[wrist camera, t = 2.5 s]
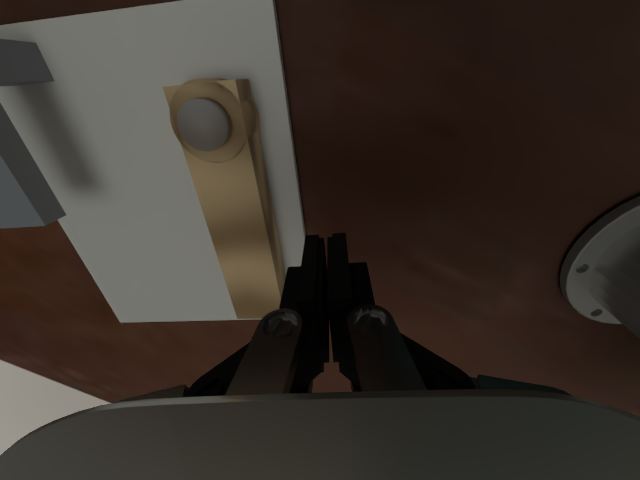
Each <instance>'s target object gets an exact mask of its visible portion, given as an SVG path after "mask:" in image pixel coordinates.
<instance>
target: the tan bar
mask: <svg viewBox="0 0 640 480" xmlns="http://www.w3.org/2000/svg"><path fill="white" fill-rule="evenodd" d="M163 90H164V93H165V97H166V100H167V103H168V106H169V109H170V122H171V125H172V129H173V131H174V133H175V135H176V137H177V139H178V140H179V142H180V143H181V146H182V149H183V152H184V155H185V158H186V161H187V165H188V168H189V171H190V174H191V177H192V180H193V183H194V186H195V189H196V192H197V196H198V199H199V202H200V205H201V208H202V211H203V214H204V217H205V220H206V223H207V226H208V230H209V233H210V236H211V239H212V242H213V245H214V248H215V251H216V254H217V257H218V261H219V264H220V267H221V270H222V273H223V276H224V279H225V282H226V285H227V288H228V291H229V295H230V298H231V301H232V304H233V307H234V310H235V313H236V316H237V319H262V318H263V317H264V316H265V315H266V314H268V313H270V312H271V311H274V310H277V309H279V306H280V302H281V297H282V292H283V287H284V283H285V278H286V276H285V271H284V266H283V260H282V255H281V250H280V244H279V239H278V234H277V228H276V223H275V218H274V212H273V207H272V202H271V196H270V191H269V186H268V181H267V175H266V170H265V165H264V159H263V154H262V149H261V143H260V138H259V133H258V129H259V116H258V111H257V108H256V106H255V103H254V101H253V100H252V95H251V90H250V85H249V79H231V80H227V79H221V78H202V79H193V80H190V81H187V82H185V83H184V84H182V85H175V86H166V87H163Z"/></svg>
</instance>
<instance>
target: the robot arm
mask: <svg viewBox="0 0 640 480" xmlns="http://www.w3.org/2000/svg"><path fill="white" fill-rule="evenodd" d="M560 288H561V291H562V294H563V296H564V298H565V299H566V300H567V301H568V303H569V304H570V305H571V306H572V307H573V308H574V309H576V310H577V311H578V312H579V313H580V314H581V315H583V316H585V317H587V318H589V319H592V320H595V321H599V322H602V323H611V324H623V325H624V326H625V327H626V328H627V329H629V330H630V331H631V332H632V333H633V334H634V335H635V336H637V337H638V338H639V339H640V196H638V197H636V198H634V199H632V200H630V201H628V202H626V203H624V204H622V205H620V206H619V207H617V208H615V209H614V210H612V211H611V212H609V213H607V214H606V215H604V216H603V217H602V218H601V219H599V220H598V221H597V222H596V223H594V224H593V225H592V226H591V227H589V228H588V229H587V230H586V232H585V233H584V234H583V235H582V236H581V237H580V238H579V239H578V240H577V241H576V243H575V244H574V245H573V247H572V248H571V250H570V251H569V252H568V254H567V256H566V258H565V261H564V263H563V265H562V269H561V273H560ZM329 321H330V331H331V340H332V350H333V360H334V362H339V369H340V372H341V373H342V374H343V375H344V376H345V377H347V378H348V379H349V380H350V381H351V389H352V392H329V393H312V389H313V379H314V378H315V377H316V376H318V375H319V374H320V373H321V372H324V363H327V362H329ZM0 480H640V417H637V416H635V415H633V414H630V413H628V412H625V411H623V410H620V409H617V408H615V407H612V406H608V405H605V404H602V403H598V402H595V401H591V400H588V399H585V398H580V397H575V396H572V395H570V394H568V393H567V392H565V391H563V390H560V389H557V388H553V387H548V386H543V385H537V384H531V383H525V382H519V381H513V380H507V379H501V378H496V377H490V376H484V375H478V377H477V378H473V377H469V376H468V375H467V374H466V373H465V372H463V371H462V370H461V369H459V368H458V367H456V366H454V365H453V364H451V363H449V362H448V361H446V360H444V359H443V358H441V357H439V356H438V355H436V354H434V353H433V352H431V351H429V350H428V349H426V348H425V347H423V346H421V345H420V344H418V343H416V342H415V341H413V340H411V339H410V338H408V337H406V336H405V335H403V334H401V333H400V332H399V330H398V328H397V326H396V323H395V321H394V319H393V317H392V316H391V314H390V313H389V312H388V311H387V310H386V309H384V308H382V307H380V306H378V305H375V302H374V297H373V292H372V287H371V282H370V277H369V273H368V268H367V263H366V262H362V263H349V262H348V253H347V244H346V234H345V233H337V234H333V237H328V261H327V266H326V256H325V245H324V238H319V235H307V236H305V242H304V249H303V256H302V263H301V266H294V267H288V269H287V273H286V278H285V283H284V287H283V292H282V297H281V302H280V306H279V309H277V310H274V311H271V312H270V313H268V314H266V315H265V316H264V317H263V318H262V319H261V321H260V322H259V324H258V326H257V328H256V330H255V332H254V334H253V337H252V339H251V341H250V343H248V344H247V345H245V346H244V347H243V348H241V349H240V350H238V351H237V352H235V353H234V354H233V355H231V356H230V357H228V358H227V359H226V360H224V361H223V362H221V363H220V364H218V365H217V366H216V367H214V368H213V369H211V370H210V371H208V372H207V373H206V374H204V375H203V376H201V377H200V378H199V379H198V380H197V381H195V382H194V383H193V385H192V386H190V387H187V386H186V384H182V385H178V386H174V387H170V388H166V389H162V390H158V391H154V392H150V393H146V394H142V395H138V396H134V397H130V398H126V399H122V400H120V401H117V402H115V403H112V404H107V405H101V406H97V407H93V408H90V409H86V410H82V411H79V412H76V413H74V414H71V415H68V416H65V417H63V418H60V419H57V420H55V421H52V422H50V423H48V424H46V425H44V426H42V427H40V428H38V429H36V430H34V431H32V432H30V433H29V434H27V435H26V436H24V437H23V438H21V439H20V440H18V441H17V442H16V443H14V445H12V446H11V447H10V448H8V449H7V450H6V451H5V452H4V453H3V454H1V455H0Z"/></svg>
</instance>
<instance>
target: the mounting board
mask: <svg viewBox="0 0 640 480" xmlns="http://www.w3.org/2000/svg"><path fill="white" fill-rule="evenodd" d="M202 78H221V79H227V80H231V79H249V85H250V90H251V95H252V100H253V101H254V103H255V106H256V108H257V111H258V116H259V129H258V133H259V138H260V143H261V149H262V154H263V159H264V165H265V170H266V175H267V181H268V186H269V191H270V196H271V202H272V207H273V212H274V218H275V223H276V228H277V234H278V239H279V244H280V250H281V255H282V260H283V266H284V271H285V276H286V273H287V269H288V267H294V266H301V263H302V256H303V249H304V242H305V236H306V233H305V226H304V218H303V210H302V203H301V195H300V187H299V180H298V172H297V165H296V157H295V149H294V142H293V134H292V127H291V119H290V111H289V104H288V96H287V88H286V81H285V73H284V66H283V58H282V50H281V43H280V35H279V28H278V20H277V12H276V5H275V0H182V1H175V2H168V3H160V4H153V5H146V6H138V7H131V8H124V9H116V10H109V11H102V12H95V13H87V14H80V15H73V16H65V17H58V18H51V19H43V20H36V21H29V22H21V23H14V24H7V25H0V228H17V227H33V226H46V225H48V224H50V223H52V222H54V221H56V220H58V221H59V223H60V225H61V226H62V228H63V229H64V231H65V233H66V234H67V236H68V238H69V239H70V241H71V243H72V244H73V246H74V247H75V249H76V251H77V252H78V254H79V256H80V257H81V259H82V261H83V262H84V264H85V265H86V267H87V269H88V270H89V272H90V274H91V275H92V277H93V279H94V280H95V282H96V283H97V285H98V287H99V288H100V290H101V292H102V293H103V295H104V297H105V298H106V300H107V301H108V303H109V305H110V306H111V308H112V310H113V311H114V313H115V315H116V316H117V318H118V319H119V321H120V322H162V321H205V320H248V319H237V316H236V313H235V310H234V307H233V304H232V301H231V298H230V295H229V291H228V288H227V285H226V282H225V279H224V276H223V273H222V270H221V267H220V264H219V261H218V257H217V254H216V251H215V248H214V245H213V242H212V239H211V236H210V233H209V230H208V226H207V223H206V220H205V217H204V214H203V211H202V208H201V205H200V202H199V199H198V196H197V192H196V189H195V186H194V183H193V180H192V177H191V174H190V171H189V168H188V165H187V161H186V158H185V155H184V152H183V149H182V146H181V143H180V142H179V140H178V139H177V137H176V135H175V133H174V131H173V129H172V125H171V122H170V109H169V106H168V103H167V100H166V97H165V93H164V90H163V87H166V86H175V85H182V84H184V83H185V82H187V81H190V80H193V79H202Z"/></svg>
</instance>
